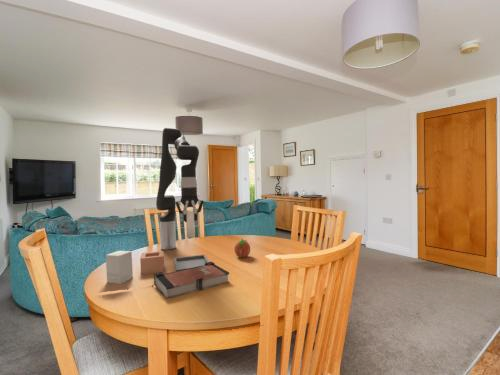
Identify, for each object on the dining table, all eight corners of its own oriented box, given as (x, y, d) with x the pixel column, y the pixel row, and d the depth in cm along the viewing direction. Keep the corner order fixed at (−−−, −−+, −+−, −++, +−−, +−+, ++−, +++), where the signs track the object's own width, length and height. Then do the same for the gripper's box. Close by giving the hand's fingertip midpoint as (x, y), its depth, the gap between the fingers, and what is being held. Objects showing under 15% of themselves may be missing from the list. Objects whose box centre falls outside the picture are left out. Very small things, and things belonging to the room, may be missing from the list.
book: (167, 301, 98) (166, 287, 98) (154, 285, 113) (153, 273, 113) (230, 283, 113) (230, 271, 113) (211, 272, 128) (211, 261, 127)
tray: (174, 262, 142) (173, 257, 142) (204, 259, 147) (204, 254, 147) (176, 275, 123) (175, 270, 123) (211, 270, 128) (211, 265, 128)
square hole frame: (142, 269, 132) (141, 253, 132) (164, 266, 135) (163, 250, 135) (141, 276, 123) (140, 258, 123) (164, 273, 126) (163, 256, 126)
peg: (186, 236, 135) (185, 210, 135) (194, 235, 137) (193, 209, 136) (187, 238, 132) (186, 211, 131) (195, 237, 133) (194, 210, 132)
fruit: (231, 258, 146) (231, 240, 146) (239, 253, 155) (238, 236, 155) (246, 260, 143) (246, 241, 143) (253, 255, 152) (252, 237, 151)
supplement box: (133, 279, 119) (132, 251, 118) (120, 286, 112) (119, 255, 111) (120, 278, 121) (118, 250, 121) (106, 284, 114) (105, 254, 114)
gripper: (202, 185, 139) (203, 219, 140) (173, 186, 135) (174, 221, 135) (204, 186, 132) (205, 221, 133) (174, 187, 128) (175, 223, 128)
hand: (190, 221), depth 134 cm, fingers closed on peg, 4 cm apart
